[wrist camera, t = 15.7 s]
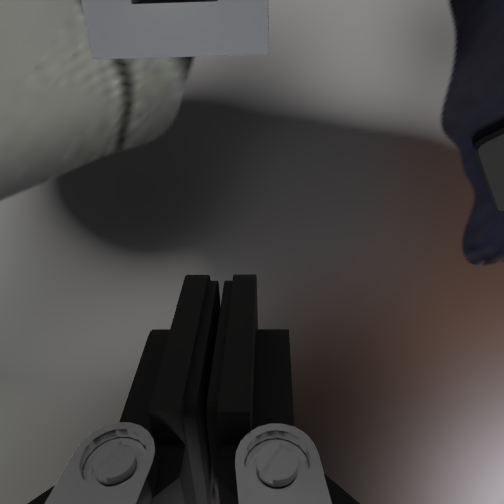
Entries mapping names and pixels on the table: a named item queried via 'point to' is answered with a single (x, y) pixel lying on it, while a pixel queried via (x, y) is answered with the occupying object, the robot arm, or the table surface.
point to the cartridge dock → (176, 28)
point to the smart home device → (492, 165)
